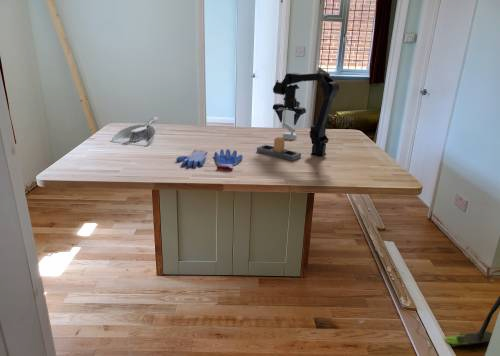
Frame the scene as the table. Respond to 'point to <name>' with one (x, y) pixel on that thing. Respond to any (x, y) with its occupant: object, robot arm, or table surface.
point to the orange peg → (279, 144)
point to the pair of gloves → (223, 160)
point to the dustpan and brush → (137, 133)
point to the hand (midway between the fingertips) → (287, 123)
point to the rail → (284, 155)
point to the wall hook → (291, 134)
